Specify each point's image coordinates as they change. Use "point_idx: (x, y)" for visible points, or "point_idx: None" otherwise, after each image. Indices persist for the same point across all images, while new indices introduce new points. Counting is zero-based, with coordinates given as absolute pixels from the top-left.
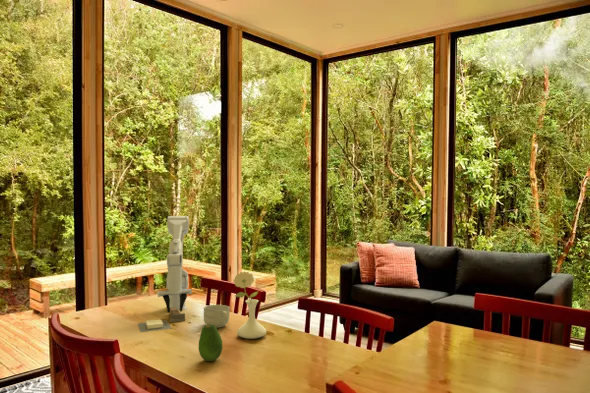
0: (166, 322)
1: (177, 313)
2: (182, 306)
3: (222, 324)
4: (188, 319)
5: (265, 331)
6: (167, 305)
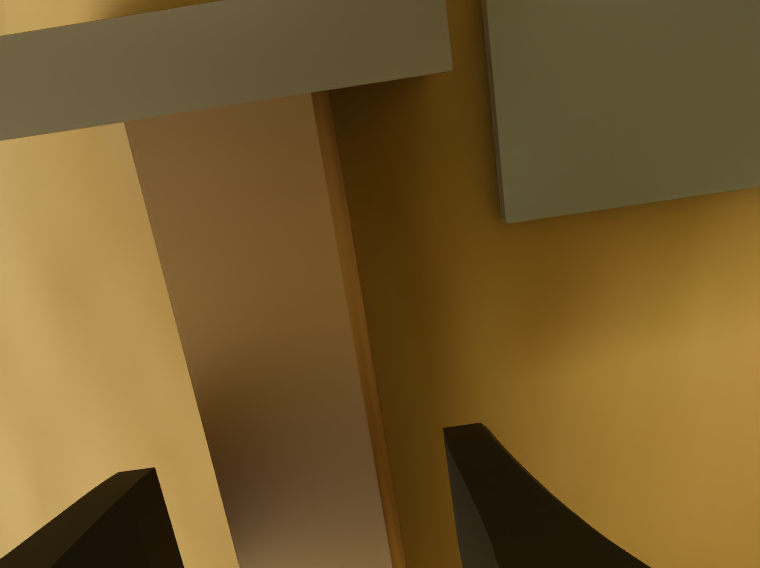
0: (525, 5)
1: (216, 176)
2: (24, 547)
3: None
4: (16, 249)
5: None
6: (577, 528)
